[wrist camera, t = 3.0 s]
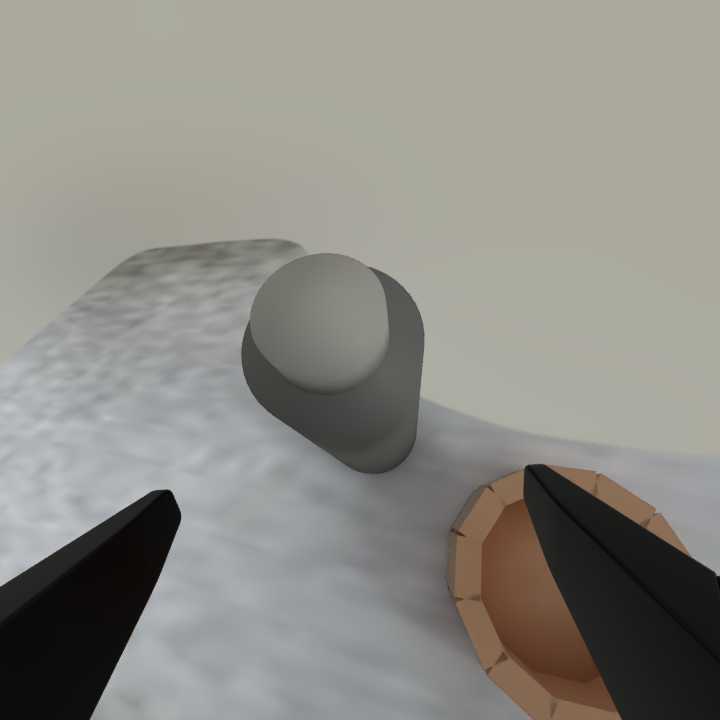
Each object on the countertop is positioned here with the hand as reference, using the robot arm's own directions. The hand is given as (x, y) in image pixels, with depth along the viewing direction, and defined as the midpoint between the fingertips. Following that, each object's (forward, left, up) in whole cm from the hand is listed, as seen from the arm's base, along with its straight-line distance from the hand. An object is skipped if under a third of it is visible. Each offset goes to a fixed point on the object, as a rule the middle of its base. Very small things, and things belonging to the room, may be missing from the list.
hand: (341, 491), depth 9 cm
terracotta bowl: (+6, -6, -10) cm, 14 cm away
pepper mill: (+1, +4, -10) cm, 11 cm away
